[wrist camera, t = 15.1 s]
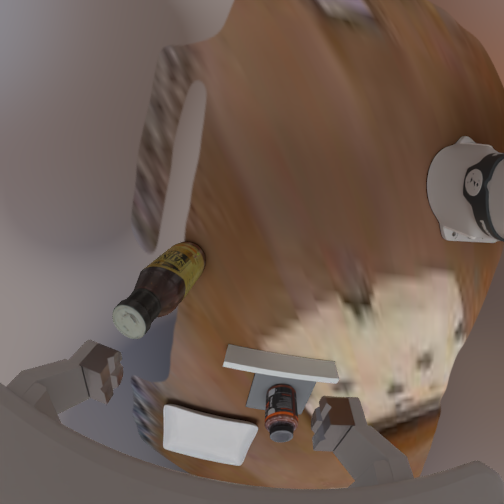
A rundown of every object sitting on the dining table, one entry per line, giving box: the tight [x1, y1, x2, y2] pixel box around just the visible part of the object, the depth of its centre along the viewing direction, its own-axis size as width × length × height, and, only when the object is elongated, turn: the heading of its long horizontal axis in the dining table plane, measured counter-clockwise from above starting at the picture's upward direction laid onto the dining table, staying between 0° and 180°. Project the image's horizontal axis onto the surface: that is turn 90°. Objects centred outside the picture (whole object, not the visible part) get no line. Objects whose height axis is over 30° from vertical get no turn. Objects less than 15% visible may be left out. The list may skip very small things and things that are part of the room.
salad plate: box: [163, 404, 258, 466], centre depth 56 cm, size 21×21×3 cm
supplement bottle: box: [265, 384, 298, 442], centre depth 45 cm, size 6×6×11 cm
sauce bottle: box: [112, 242, 205, 339], centre depth 34 cm, size 6×6×20 cm
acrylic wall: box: [223, 344, 339, 384], centre depth 46 cm, size 20×1×5 cm, turn 79°
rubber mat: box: [246, 373, 316, 414], centre depth 50 cm, size 12×12×1 cm
